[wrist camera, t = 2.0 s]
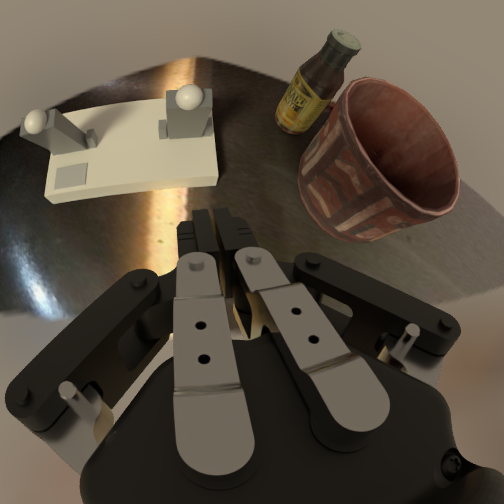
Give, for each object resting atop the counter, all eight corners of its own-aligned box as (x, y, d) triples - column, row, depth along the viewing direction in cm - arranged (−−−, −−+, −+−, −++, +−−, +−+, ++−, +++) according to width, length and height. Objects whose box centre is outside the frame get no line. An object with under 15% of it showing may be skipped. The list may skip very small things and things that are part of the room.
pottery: (389, 183, 45) (459, 135, 28) (368, 272, 41) (459, 245, 23) (305, 131, 44) (356, 56, 26) (265, 216, 39) (321, 147, 22)
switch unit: (215, 185, 38) (220, 166, 33) (53, 203, 32) (37, 189, 27) (208, 108, 40) (212, 85, 35) (65, 125, 35) (55, 105, 29)
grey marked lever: (87, 151, 32) (47, 125, 19) (60, 156, 31) (12, 135, 18) (87, 133, 31) (49, 100, 18) (60, 139, 30) (15, 111, 17)
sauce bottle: (268, 108, 43) (312, 16, 24) (302, 108, 44) (353, 26, 26) (279, 139, 42) (333, 47, 23) (313, 138, 43) (376, 57, 25)
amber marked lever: (201, 139, 35) (214, 103, 22) (168, 141, 34) (165, 106, 21) (201, 121, 35) (214, 79, 22) (168, 123, 34) (165, 81, 21)
